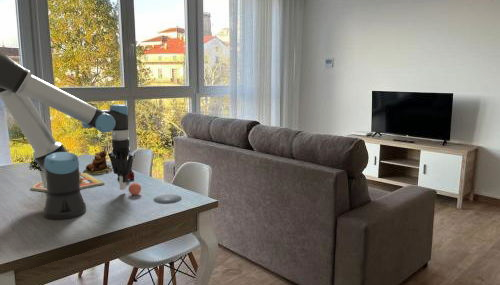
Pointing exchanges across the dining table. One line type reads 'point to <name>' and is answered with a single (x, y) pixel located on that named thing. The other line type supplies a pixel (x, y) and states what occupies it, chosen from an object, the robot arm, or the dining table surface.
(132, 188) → the ball
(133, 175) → the toy fire truck
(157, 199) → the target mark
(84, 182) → the knob puzzle
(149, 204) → the dining table surface
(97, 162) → the bear figurine
